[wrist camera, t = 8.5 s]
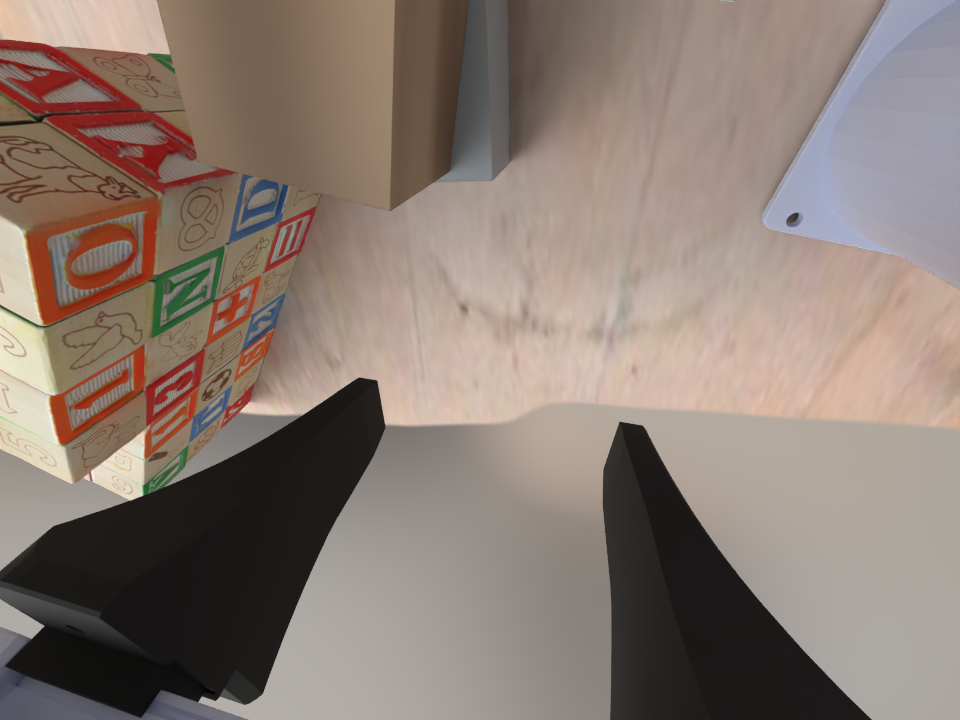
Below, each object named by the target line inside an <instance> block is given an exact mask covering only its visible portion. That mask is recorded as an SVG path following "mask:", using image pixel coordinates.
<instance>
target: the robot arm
mask: <svg viewBox="0 0 960 720" xmlns="http://www.w3.org/2000/svg"><path fill="white" fill-rule="evenodd" d="M793 213H798V214H799V216H798V218H797V219H796V221H795V222H793V223H791V224H786V220H787V218H788V217H789V216H790V215H791V214H793ZM762 223H763V224H764V225H765V226H766V227H767V228H769V229H771V230H775V231H780V232H785V233H789V234H794V235H799V236H804V237H809V238H814V239H819V240H824V241H828V242H833V243H838V244H843V245H848V246H853V247H858V248H863V249H867V250H872V251H877V252H882V253H887V254H892V255H897V256H899V257H901V258H903V259H905V260H907V261H908V262H910V263H912V264H914V265H916V266H917V267H919V268H921V269H923V270H925V271H926V272H928V273H930V274H932V275H934V276H935V277H937V278H939V279H941V280H943V281H944V282H946V283H948V284H950V285H952V286H953V287H955V288H957V289H959V290H960V0H886V2H885V3H884V5H883V7H882V8H881V10H880V12H879V14H878V15H877V17H876V19H875V21H874V22H873V24H872V26H871V27H870V29H869V31H868V33H867V34H866V36H865V38H864V39H863V41H862V43H861V45H860V46H859V48H858V50H857V52H856V53H855V55H854V57H853V58H852V60H851V62H850V64H849V65H848V67H847V69H846V71H845V72H844V74H843V76H842V77H841V79H840V81H839V83H838V84H837V86H836V88H835V89H834V91H833V93H832V95H831V96H830V98H829V100H828V102H827V103H826V105H825V107H824V108H823V110H822V112H821V114H820V115H819V117H818V119H817V120H816V122H815V124H814V126H813V127H812V129H811V131H810V133H809V134H808V136H807V138H806V139H805V141H804V143H803V145H802V146H801V148H800V150H799V151H798V153H797V155H796V157H795V158H794V160H793V162H792V164H791V165H790V167H789V169H788V170H787V172H786V174H785V176H784V177H783V179H782V181H781V182H780V184H779V186H778V188H777V189H776V191H775V193H774V195H773V196H772V198H771V200H770V201H769V203H768V205H767V207H766V208H765V210H764V212H763V214H762ZM384 430H385V422H384V416H383V411H382V405H381V399H380V394H379V388H378V382H377V381H376V380H370V379H365V378H358V379H356V380H354V381H353V382H351V383H350V384H348V385H347V386H345V387H344V388H342V389H341V390H339V391H338V392H337V393H335V394H334V395H332V396H331V397H329V398H328V399H326V400H325V401H323V402H322V403H320V404H319V405H317V406H316V407H314V408H313V409H311V410H310V411H308V412H307V413H305V414H304V415H303V416H301V417H299V418H298V419H296V420H295V421H293V422H291V423H290V424H288V425H287V426H285V427H283V428H282V429H280V430H278V431H277V432H275V433H274V434H272V435H270V436H269V437H267V438H265V439H264V440H262V441H260V442H258V443H257V444H255V445H253V446H251V447H250V448H247V449H246V450H244V451H242V452H240V453H238V454H236V455H234V456H232V457H230V458H228V459H226V460H224V461H222V462H220V463H218V464H216V465H214V466H212V467H209V468H207V469H205V470H203V471H201V472H198V473H196V474H194V475H192V476H190V477H187V478H185V479H183V480H181V481H178V482H176V483H174V484H172V485H169V486H166V487H164V488H161V489H159V490H156V491H154V492H151V493H149V494H146V495H143V496H141V497H138V498H136V499H133V500H130V501H128V502H125V503H122V504H119V505H116V506H114V507H111V508H108V509H105V510H102V511H99V512H96V513H93V514H90V515H87V516H84V517H81V518H78V519H75V520H72V521H69V522H65V523H62V524H59V525H56V526H53V527H52V528H51V529H50V530H48V531H47V532H46V533H45V534H44V535H42V536H41V537H40V538H39V539H38V540H37V541H35V542H34V543H33V544H32V545H31V546H29V548H27V549H26V550H25V551H23V552H22V553H21V554H20V555H19V556H17V557H16V558H15V559H14V560H13V561H11V562H10V563H9V564H8V565H7V566H6V567H4V568H3V569H2V570H1V571H0V599H1V600H3V601H4V602H6V603H8V604H9V605H11V606H13V607H14V608H16V609H18V610H19V611H21V612H23V613H24V614H26V615H28V616H29V617H31V618H33V619H34V620H36V621H38V622H39V623H41V624H42V625H44V628H42V629H41V630H40V631H39V633H37V634H36V635H35V636H34V637H33V638H32V639H30V638H28V637H26V636H23V635H21V634H18V633H16V632H13V631H10V630H7V629H4V628H2V627H0V720H247V719H244V718H242V717H239V716H236V715H233V714H230V713H227V712H224V711H221V710H218V709H216V708H213V707H210V706H207V705H204V704H201V703H198V702H199V700H200V698H201V697H205V698H208V699H211V700H214V701H216V700H217V699H218V698H219V697H223V698H226V699H229V700H232V701H235V702H238V703H241V704H244V705H246V704H249V703H251V702H252V701H254V700H255V699H257V698H258V697H259V696H261V695H262V694H263V692H264V689H265V686H266V683H267V681H268V678H269V675H270V672H271V670H272V667H273V664H274V661H275V659H276V656H277V654H278V651H279V648H280V646H281V643H282V640H283V638H284V635H285V633H286V630H287V628H288V625H289V623H290V620H291V618H292V615H293V613H294V610H295V608H296V605H297V603H298V601H299V598H300V596H301V594H302V591H303V589H304V587H305V585H306V582H307V580H308V578H309V575H310V573H311V571H312V569H313V566H314V564H315V562H316V560H317V558H318V555H319V553H320V551H321V549H322V547H323V545H324V542H325V540H326V538H327V536H328V534H329V532H330V530H331V528H332V527H333V525H334V523H335V521H336V519H337V517H338V516H339V514H340V512H341V511H342V509H343V507H344V506H345V504H346V502H347V500H348V499H349V497H350V495H351V494H352V492H353V490H354V489H355V487H356V485H357V484H358V482H359V480H360V479H361V477H362V475H363V473H364V472H365V470H366V468H367V466H368V465H369V463H370V461H371V459H372V458H373V456H374V454H375V451H376V449H377V447H378V444H379V442H380V440H381V437H382V435H383V432H384ZM603 511H604V523H605V533H606V544H607V554H608V564H609V575H610V586H611V603H612V604H611V606H612V652H611V653H612V654H611V655H612V657H611V713H610V720H871V719H870V718H869V717H868V716H867V715H866V714H865V713H864V712H863V711H862V710H861V709H860V708H859V707H858V706H857V705H856V704H855V703H854V702H853V701H852V700H851V699H850V698H849V697H848V696H847V695H846V694H845V693H844V692H843V691H842V690H841V689H840V688H839V687H838V686H837V685H836V684H835V683H834V682H833V681H832V680H831V679H830V678H829V677H828V676H827V675H826V674H825V673H824V672H823V671H822V669H820V667H819V666H818V665H817V664H816V663H815V662H814V661H813V660H812V659H811V658H810V657H809V656H808V655H807V654H806V653H805V652H804V651H803V650H802V648H800V646H799V645H798V644H797V643H796V642H795V641H794V639H793V638H792V637H791V636H790V635H789V634H788V633H787V632H786V630H785V629H784V628H783V627H782V626H781V625H780V624H779V623H778V621H777V620H776V619H775V618H774V617H773V616H772V615H771V614H770V612H769V611H768V610H767V609H766V608H765V607H764V606H763V605H762V603H761V602H760V601H759V600H758V599H757V597H756V596H755V595H754V594H753V593H752V591H751V590H750V589H749V588H748V586H747V585H746V584H745V583H744V581H743V580H742V579H741V578H740V577H739V575H738V574H737V573H736V571H735V570H734V569H733V568H732V566H731V565H730V564H729V562H728V561H727V560H726V558H725V557H724V556H723V555H722V553H721V552H720V550H719V549H718V548H717V546H716V545H715V544H714V542H713V541H712V539H711V538H710V537H709V535H708V534H707V532H706V531H705V529H704V528H703V526H702V525H701V523H700V522H699V520H698V519H697V518H696V516H695V515H694V513H693V511H692V510H691V508H690V507H689V505H688V504H687V502H686V500H685V499H684V497H683V496H682V494H681V492H680V491H679V489H678V488H677V486H676V484H675V482H674V481H673V479H672V477H671V476H670V474H669V472H668V470H667V469H666V467H665V465H664V463H663V462H662V460H661V458H660V456H659V454H658V453H657V451H656V449H655V447H654V445H653V443H652V441H651V439H650V437H649V435H648V433H647V431H646V429H645V428H644V427H643V426H641V425H635V424H630V423H623V422H619V425H618V428H617V431H616V434H615V437H614V440H613V443H612V446H611V449H610V452H609V455H608V458H607V461H606V464H605V467H604V474H603Z"/></svg>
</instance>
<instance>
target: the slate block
mask: <svg viewBox="0 0 960 720" xmlns="http://www.w3.org/2000/svg"><path fill="white" fill-rule="evenodd" d="M509 163H510V138H509V50H508V0H469V5H468V14H467V23H466V32H465V41H464V50H463V59H462V68H461V76H460V85H459V94H458V103H457V112H456V121H455V130H454V139H453V148H452V157H451V165H450V172H449V173H447V174H446V175H444V176H443V177H441V178H439V179H438V180H436V181H435V182H448V181H492V180H493V179H494V178H495V177H496V176H497V175H498V174H499V173H500V172H501V171H502V170H503V169H504V168H505V167H506V166H507V165H508V164H509Z"/></svg>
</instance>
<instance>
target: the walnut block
mask: <svg viewBox="0 0 960 720" xmlns="http://www.w3.org/2000/svg"><path fill="white" fill-rule="evenodd" d="M157 3H158V7H159V11H160V15H161V19H162V23H163V27H164V31H165V34H166V38H167V42H168V46H169V50H170V54H171V58H172V61H173V65H174V69H175V73H176V77H177V81H178V85H179V88H180V92H181V96H182V100H183V104H184V108H185V112H186V115H187V119H188V123H189V127H190V131H191V135H192V139H193V143H194V146H195V150H196V154H197V158H198V162H199V163H203V164H206V165H210V166H214V167H218V168H222V169H226V170H230V171H234V172H238V173H242V174H246V175H250V176H254V177H257V178H261V179H265V180H269V181H273V182H277V183H281V184H285V185H289V186H293V187H297V188H301V189H305V190H309V191H312V192H316V193H320V194H324V195H328V196H332V197H336V198H340V199H344V200H348V201H352V202H356V203H360V204H363V205H367V206H371V207H375V208H379V209H383V210H387V211H391V210H392V209H394V208H395V207H397V206H398V205H400V204H401V203H403V202H405V201H406V200H408V199H409V198H411V197H412V196H414V195H415V194H417V193H418V192H420V191H421V190H423V189H424V188H426V187H427V186H429V185H430V184H432V183H433V182H435V181H436V180H438V179H439V178H441V177H443V176H444V175H446V174H447V173H449V172H450V165H451V157H452V148H453V139H454V130H455V121H456V112H457V103H458V94H459V85H460V76H461V68H462V59H463V50H464V41H465V32H466V23H467V14H468V5H469V0H157Z"/></svg>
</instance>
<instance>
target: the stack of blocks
mask: <svg viewBox="0 0 960 720" xmlns="http://www.w3.org/2000/svg"><path fill="white" fill-rule="evenodd" d="M320 196H321V194H320V193H316V192H312V191H309V190H305V189H301V188H297V187H293V186H289V185H285V184H281V183H277V182H273V181H269V180H265V179H261V178H257V177H254V176H250V175H246V174H242V173H238V172H234V171H230V170H226V169H222V168H218V167H214V166H210V165H206V164H203V163H199V162H198V158H197V154H196V150H195V146H194V143H193V139H192V135H191V131H190V127H189V123H188V119H187V115H186V112H185V108H184V104H183V100H182V96H181V92H180V88H179V85H178V81H177V77H176V73H175V69H174V65H173V61H172V58H171V55H166V54H152V53H148V54H147V55H143V54H138V53H128V52H118V51H108V50H97V49H86V48H72V47H52V46H49V45H46V44H42V43H33V42H24V41H15V40H0V449H2V450H4V451H6V452H8V453H10V454H13V455H15V456H17V457H19V458H21V459H23V460H25V461H27V462H29V463H31V464H33V465H35V466H37V467H39V468H41V469H42V470H44V471H46V472H49V473H50V474H53V475H55V476H57V477H59V478H61V479H63V480H65V481H67V482H69V483H71V484H75V483H76V482H78V481H79V480H81V479H82V478H85V479H86V480H89V481H93V482H95V483H97V484H99V485H101V486H103V487H105V488H107V489H109V490H111V491H113V492H115V493H117V494H119V495H121V496H123V497H125V498H127V499H129V500H133V499H136V498H138V497H141V496H143V495H146V494H149V493H151V492H154V491H156V490H159V489H161V488H164V487H165V486H166V485H167V484H168V483H169V482H170V481H171V480H172V479H173V478H174V477H175V476H176V475H177V474H178V473H179V472H180V471H181V470H182V469H183V468H184V467H185V465H186V463H187V462H188V461H189V460H190V459H191V458H192V457H193V456H194V455H196V454H197V453H198V452H199V451H200V450H201V449H202V448H203V447H204V446H205V445H206V444H207V443H208V442H209V441H210V440H211V439H212V438H213V437H214V436H215V435H216V434H217V433H218V432H219V430H220V429H221V428H222V427H223V426H225V425H226V424H227V423H228V422H229V421H230V420H231V419H232V418H234V417H235V416H236V415H237V414H238V413H239V412H240V411H241V410H242V409H243V408H244V407H245V406H246V405H247V404H248V402H249V399H250V395H251V392H252V389H253V385H254V383H255V382H256V380H257V378H258V375H259V372H260V369H261V366H262V363H263V360H264V356H265V354H266V352H267V349H268V346H269V343H270V341H271V338H272V335H273V332H274V329H275V328H274V325H275V322H276V320H277V316H278V313H279V311H280V308H281V305H282V302H283V299H284V296H285V291H286V289H287V286H288V283H289V280H290V277H291V274H292V271H293V268H294V265H295V262H296V259H297V256H298V253H300V251H301V249H302V246H303V243H304V241H305V238H306V235H307V232H308V229H309V226H310V223H311V220H312V217H313V215H314V212H315V209H316V205H317V203H318V202H319V199H320Z"/></svg>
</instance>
